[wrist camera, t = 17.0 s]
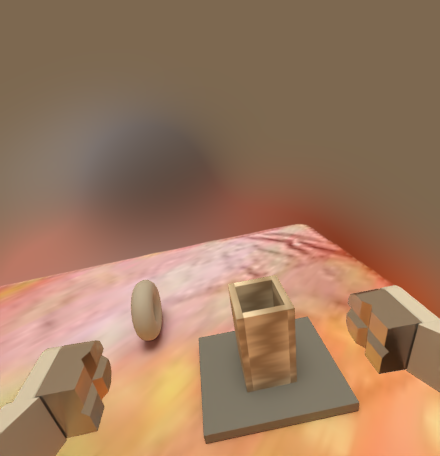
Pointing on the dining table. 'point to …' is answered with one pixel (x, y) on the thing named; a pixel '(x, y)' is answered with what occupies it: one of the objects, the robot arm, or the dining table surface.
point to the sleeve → (264, 332)
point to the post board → (270, 397)
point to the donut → (146, 310)
